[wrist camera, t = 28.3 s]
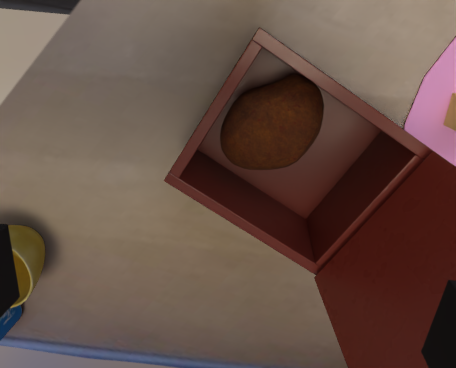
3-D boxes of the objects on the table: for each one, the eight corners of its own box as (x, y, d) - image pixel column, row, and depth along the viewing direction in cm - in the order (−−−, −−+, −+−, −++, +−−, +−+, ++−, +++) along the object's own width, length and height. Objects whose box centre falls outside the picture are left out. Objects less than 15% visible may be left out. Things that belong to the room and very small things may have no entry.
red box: (186, 148, 42) (163, 180, 33) (261, 28, 37) (259, 27, 27) (306, 225, 44) (317, 276, 35) (394, 123, 39) (434, 151, 30)
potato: (355, 128, 34) (333, 99, 28) (268, 201, 37) (231, 190, 31) (302, 71, 38) (272, 34, 31) (227, 142, 41) (186, 121, 35)
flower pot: (34, 196, 46) (-4, 223, 40) (77, 260, 50) (48, 295, 43) (-25, 222, 49) (-71, 252, 42) (19, 281, 52) (-16, 318, 45)
